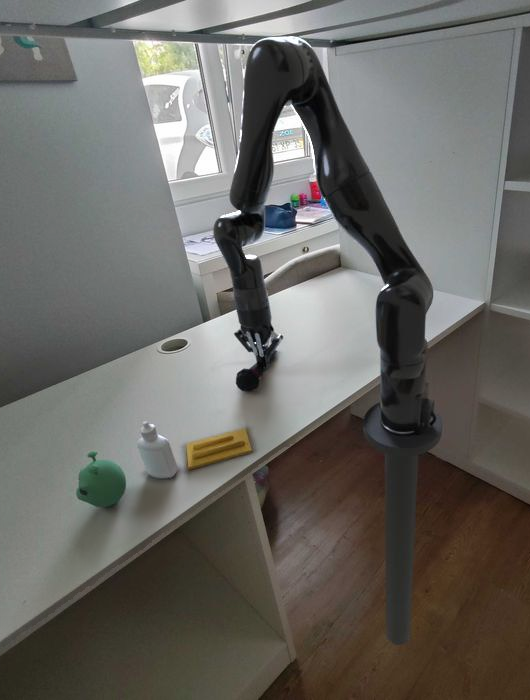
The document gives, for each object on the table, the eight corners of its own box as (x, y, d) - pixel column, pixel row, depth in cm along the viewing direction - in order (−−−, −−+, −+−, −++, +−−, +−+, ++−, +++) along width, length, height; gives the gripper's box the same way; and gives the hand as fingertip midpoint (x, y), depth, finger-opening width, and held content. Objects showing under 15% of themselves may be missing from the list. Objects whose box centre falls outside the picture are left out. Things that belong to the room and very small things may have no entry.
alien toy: (83, 496, 79) (62, 455, 74) (129, 479, 82) (112, 438, 77) (85, 525, 74) (63, 482, 68) (134, 505, 77) (116, 463, 71)
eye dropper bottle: (159, 486, 80) (140, 435, 74) (145, 471, 83) (126, 422, 77) (181, 472, 83) (164, 422, 77) (166, 458, 86) (149, 409, 80)
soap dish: (246, 430, 92) (244, 424, 91) (252, 451, 86) (250, 446, 86) (186, 446, 89) (185, 440, 88) (188, 469, 83) (187, 464, 82)
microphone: (271, 362, 120) (237, 398, 103) (263, 343, 119) (227, 376, 101) (288, 358, 118) (257, 394, 101) (280, 339, 117) (247, 372, 99)
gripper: (218, 305, 100) (233, 370, 109) (267, 312, 95) (278, 380, 103) (238, 293, 106) (250, 355, 114) (285, 299, 100) (295, 364, 109)
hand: (264, 367), depth 109 cm, fingers closed
